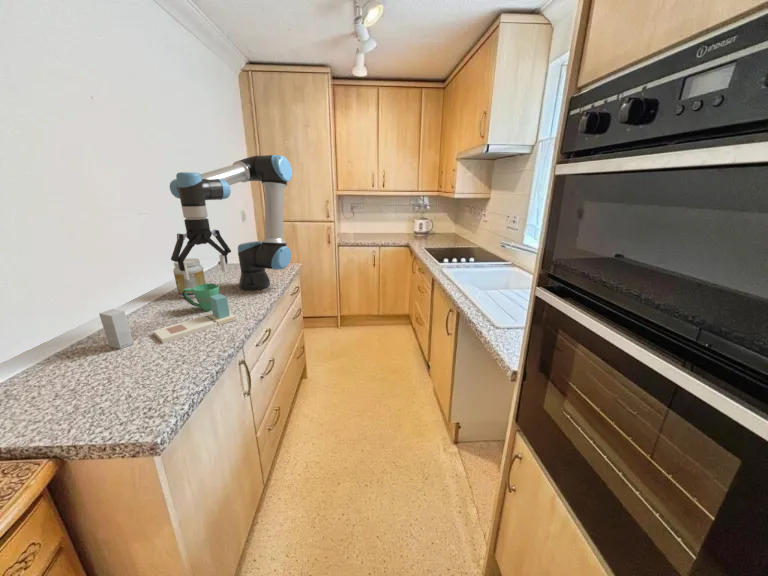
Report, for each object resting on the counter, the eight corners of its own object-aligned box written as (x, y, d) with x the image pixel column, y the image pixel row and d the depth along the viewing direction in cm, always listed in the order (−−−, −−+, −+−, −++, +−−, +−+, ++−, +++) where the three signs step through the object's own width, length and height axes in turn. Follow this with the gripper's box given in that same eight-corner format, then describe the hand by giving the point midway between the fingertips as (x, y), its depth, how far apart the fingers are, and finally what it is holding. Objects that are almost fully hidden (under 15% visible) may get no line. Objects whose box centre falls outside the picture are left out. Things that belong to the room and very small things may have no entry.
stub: (225, 313, 131) (221, 291, 128) (236, 319, 125) (232, 297, 122) (207, 318, 126) (203, 296, 123) (218, 325, 120) (214, 302, 117)
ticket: (206, 318, 126) (206, 315, 126) (217, 325, 120) (216, 322, 119) (153, 334, 113) (152, 330, 113) (163, 343, 107) (162, 339, 106)
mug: (225, 304, 141) (222, 283, 138) (216, 313, 132) (212, 290, 129) (191, 305, 140) (187, 284, 137) (180, 314, 130) (175, 291, 127)
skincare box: (134, 343, 107) (125, 311, 103) (120, 349, 103) (110, 316, 99) (122, 340, 109) (112, 308, 105) (108, 346, 105) (98, 313, 101)
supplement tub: (178, 293, 155) (171, 259, 149) (206, 289, 161) (200, 256, 156) (179, 300, 145) (171, 265, 140) (208, 295, 151) (202, 261, 146)
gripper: (225, 215, 124) (233, 267, 131) (151, 220, 106) (165, 280, 112) (235, 216, 120) (243, 270, 126) (159, 222, 101) (173, 284, 108)
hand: (206, 275), depth 119 cm, fingers open, 13 cm apart
